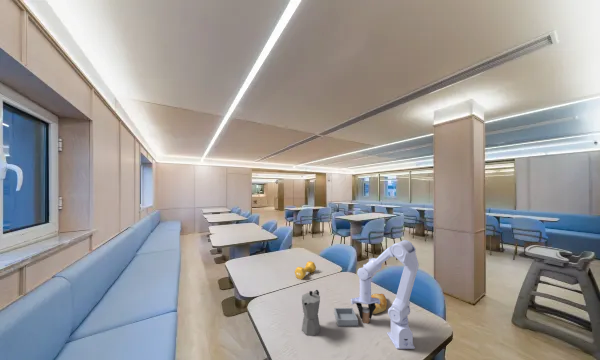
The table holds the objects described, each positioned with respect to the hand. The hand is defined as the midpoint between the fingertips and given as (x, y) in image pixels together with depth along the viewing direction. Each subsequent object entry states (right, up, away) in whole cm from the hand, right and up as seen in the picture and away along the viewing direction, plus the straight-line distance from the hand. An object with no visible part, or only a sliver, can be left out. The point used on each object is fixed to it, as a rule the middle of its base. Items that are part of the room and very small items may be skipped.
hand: (365, 317), depth 105 cm
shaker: (0, -2, 0) cm, 2 cm away
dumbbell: (-29, -4, +54) cm, 62 cm away
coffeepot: (-28, -2, -6) cm, 28 cm away
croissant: (+11, -3, +13) cm, 17 cm away
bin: (-10, -2, +1) cm, 10 cm away
